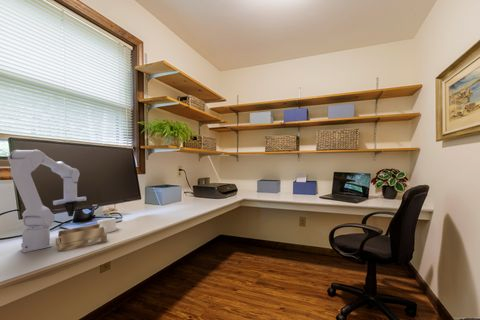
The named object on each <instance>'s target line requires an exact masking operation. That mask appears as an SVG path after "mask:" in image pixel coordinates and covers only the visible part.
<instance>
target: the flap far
mask: <svg viewBox="0 0 480 320" xmlns="http://www.w3.org/2000/svg"><path fill="white" fill-rule="evenodd" d="M99 226H100V224H98V223H96V224H90V225H85V226H80V227H74V228H73V227H72V228H69V229H67V228H66V229H63V230H58V235H57V236H58V237H57V238H59V237H61V235H63V234H68V233H74V232H79V231H84V230H89V229H95V228H99Z"/></svg>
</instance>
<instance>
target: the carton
mask: <svg viewBox="0 0 480 320" xmlns="http://www.w3.org/2000/svg"><path fill="white" fill-rule="evenodd" d="M107 239H108V233H105V235H102V236H97V237H93V238H88V239H83V240H78V241H74V242H69V243H64V244H61V237H55V246H56V249H57V251H58V252H65V251H69V250H73V249H79V248H84V247H87V246H88V247H89V246H93V245H97V244H102V243H106V242H107V241H108V240H107Z"/></svg>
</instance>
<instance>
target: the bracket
mask: <svg viewBox="0 0 480 320" xmlns="http://www.w3.org/2000/svg"><path fill="white" fill-rule="evenodd" d="M97 224H100V226H99V228H100V227H104V232H105V233H106V234H109V233H111V232H115V231H116V230H117V221H116V217H111V218H110V217H109V218H104V219H100V220H97Z"/></svg>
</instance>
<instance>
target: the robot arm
mask: <svg viewBox="0 0 480 320" xmlns="http://www.w3.org/2000/svg"><path fill="white" fill-rule="evenodd" d="M7 160H8V163H9V165H10V175H11V178H12V179H13V180H12V181H13V182H14V185H15V187H16V189H17V191H18V194H19V196H20V197H21V201H22V203H23V205H24V208H25V210H24V211H23V212H22V214H21V216H22V223H23V226H25V227H26V229H22V231H21V232H22V233H21V235H22V236H21V237H22V239H21V241H22V242H21V244H20V245H21V248H22V253H27V252H32V251H37V250H43V249H47V248H51V247H52V242H51V234H50V233H51V231H50V228H51V226H52V225H53V223H54V221H55V215H54V213H53V212H52V211H51V210H50V208H49V207H47V206H45V205H44V204H43V202H42V200H41V197H40V195H39V193H38V190H37V187H36V184H35V182H34V179H33V177H32V172H34V171H36V169H37V168H38V167H39V166H40V165H43V166H46V167H48V168H50V170H51V172H53V173H55V174H57V175H58V176H60V178H61V179H63V198H62V199H57V200H52V205H53V206H57V205H63V206H64V208H65V210H66V212H67V216H68V217H74V213H75V210H76V208H77V206H78V205H79V202H83V201H84V202H85V201H87V196H80V197H79V196H78V181H79V177H80V170H79V169H77V168H76V167H71V166H70V165H68V164H66V163H65V162H64V161H62V160H61V161H55V160H54V159H53V158H51V157H49V156H47V155H46V153H45V152H43V151H42V150H39V149H13V150H11V152H10V154H9V155H8V156H7Z"/></svg>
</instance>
